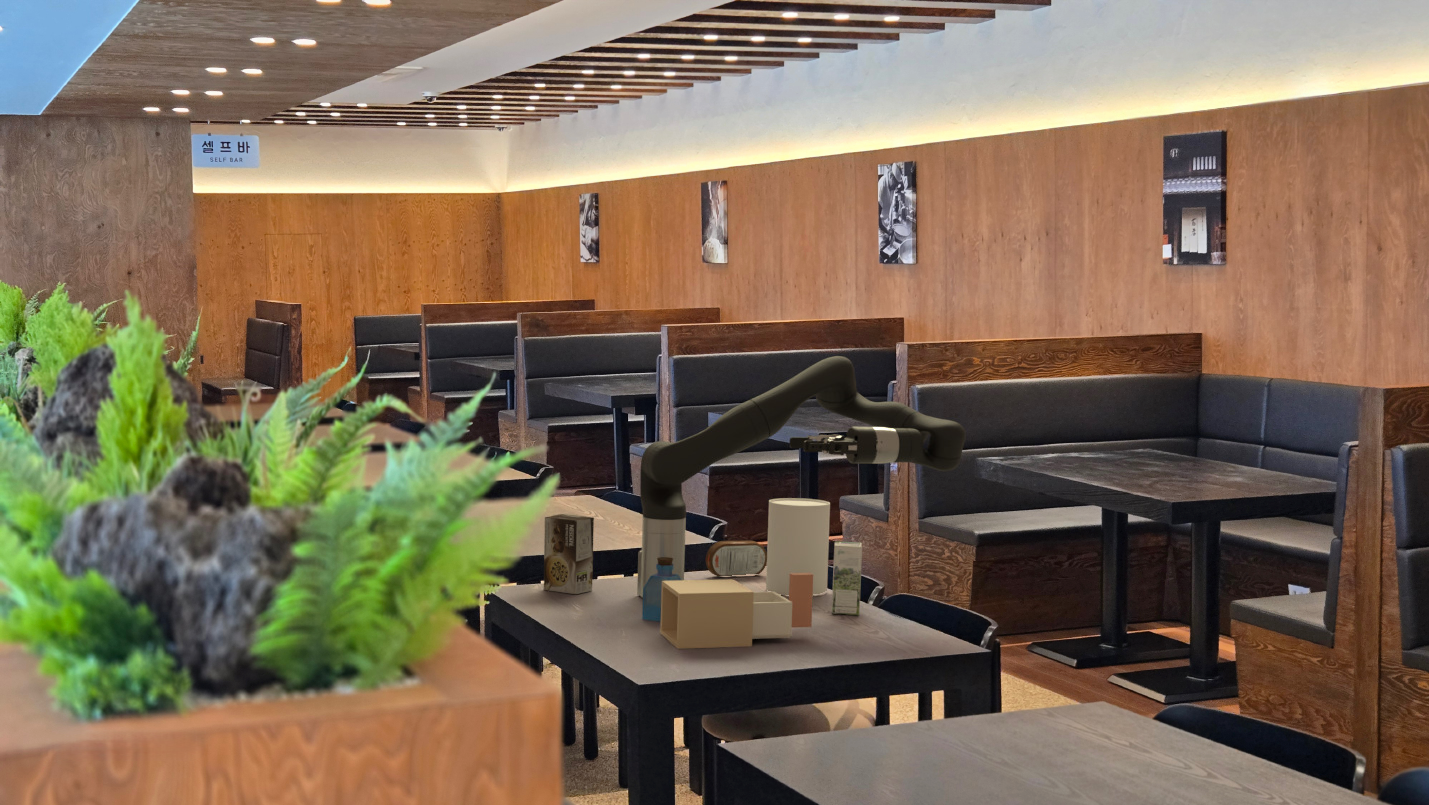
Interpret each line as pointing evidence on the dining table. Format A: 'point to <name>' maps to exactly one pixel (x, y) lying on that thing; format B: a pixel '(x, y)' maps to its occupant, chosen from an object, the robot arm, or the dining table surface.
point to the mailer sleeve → (706, 613)
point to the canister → (797, 542)
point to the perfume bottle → (657, 589)
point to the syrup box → (847, 578)
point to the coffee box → (568, 553)
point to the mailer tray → (783, 609)
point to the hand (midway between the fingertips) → (797, 444)
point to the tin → (736, 558)
